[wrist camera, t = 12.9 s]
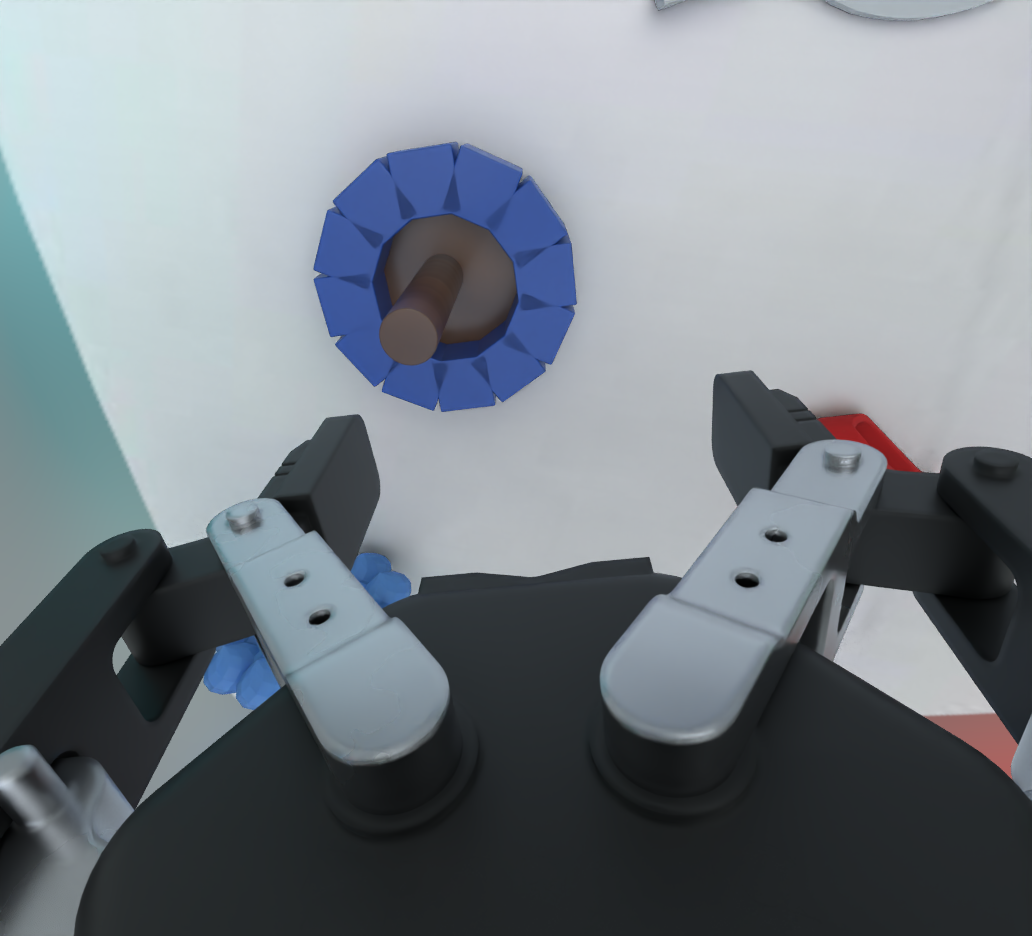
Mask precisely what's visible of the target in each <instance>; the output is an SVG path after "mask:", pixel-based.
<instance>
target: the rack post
mask: <svg viewBox="0 0 1032 936" xmlns="http://www.w3.org/2000/svg"><path fill="white" fill-rule="evenodd" d="M384 273H385V277H386V281H387V286H388V290H389V294H390V298H391V303H392V306H393V307H392V308H391V310H390V311H389V312H388V314H387V315H386V317H385V318H384V319H383V321H382V323H381V325H380V329H379V339H380V343H381V346H382V348H383V350H384V351H385V353H386V354H387V355H388V356H389V357H390V358H391V359H393V360H394V361H396V362H398V363H400V364H403V365H410V366H412V365H419V364H422V363H424V362H426V361H427V360H429V359H430V358H431V357H432V356H433V354H434V353H435V351H436V349H437V346H438V344H439V341H440V342H442V343H445V344H454V343H461V342H469V341H477V340H481V339H482V338H483V337H485V336H486V335H487V334H489V333H490V332H491V331H492V330H494V329H495V328H496V327H498V326H499V325H500V324H502V323H503V322H504V321H505V320H506V319H507V316H508V314H509V311H510V309H511V306H512V304H513V301H514V299H515V296H516V294H517V288H516V281H515V273H514V266H513V262H512V260H511V259H510V258H509V256H508V255H507V254H506V252H505V251H504V250H503V248H502V247H501V246H500V244H499V243H498V242H497V240H496V239H495V238H494V236H493V235H492V234H491V232H490V231H489V230H487V229H485V228H483V227H480V226H478V225H476V224H473V223H471V222H469V221H466V220H464V219H462V218H459V217H457V216H455V215H453V214H448V215H441V216H434V217H427V218H421V219H414V220H412V221H410V222H409V223H408V224H407V225H406V226H405V227H404V228H403V229H401V230H400V231H399V232H398V233H397V234H396V235H395V236H394V238H393V241H392V245H391V248H390V251H389V255H388V258H387V262H386V265H385V268H384Z"/></svg>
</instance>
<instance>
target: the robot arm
mask: <svg viewBox="0 0 1032 936" xmlns="http://www.w3.org/2000/svg"><path fill="white" fill-rule="evenodd" d="M712 450H713V457H714V461H715V464H716V466H717V468H718V470H719V472H720V474H721V476H722V478H723V479H724V481H725V483H726V485H727V487H728V489H729V491H730V493H731V494H732V496H733V498H734V500H735V502H736V504H737V506H738V507H737V508H736V509H735V511H734V512H733V513H732V514H731V516H730V517H729V518H728V520H727V521H726V522H725V523H724V525H723V526H722V527H721V529H720V530H719V531H718V533H717V534H716V535H715V536H714V538H713V539H712V540H711V542H710V543H709V544H708V545H707V547H706V548H705V549H704V551H703V552H702V553H701V555H700V556H699V557H698V558H697V560H696V561H695V562H694V564H693V565H692V566H691V567H690V569H689V570H688V571H687V573H686V574H685V575H684V577H683V578H681V577H677V576H672V575H666V574H660V573H653V569H652V565H651V562H650V558H649V557H644V558H633V559H622V560H611V561H600V562H591V563H587V564H583V565H580V566H576V567H572V568H568V569H564V570H561V571H557V572H553V573H549V574H546V575H542V576H537V577H521V576H510V575H498V574H486V573H467V574H456V575H445V576H434V577H423V578H422V579H421V583H420V588H419V592H418V594H416V595H412V596H409V597H406V598H404V599H401V600H398V601H396V602H394V603H392V604H390V605H387V606H386V607H384V608H381V607H380V606H379V605H378V603H377V602H376V601H375V600H374V599H373V598H372V596H371V595H370V594H369V593H368V592H367V591H366V589H365V588H364V587H363V586H362V585H361V583H360V582H359V581H358V580H357V579H356V578H355V576H354V575H353V574H352V573H351V570H352V567H353V564H354V562H355V559H356V557H357V554H358V552H359V549H360V547H361V544H362V541H363V539H364V536H365V534H366V531H367V529H368V526H369V524H370V521H371V519H372V516H373V513H374V511H375V508H376V506H377V503H378V501H379V497H380V479H379V474H378V470H377V466H376V463H375V459H374V456H373V452H372V448H371V445H370V441H369V438H368V434H367V430H366V427H365V424H364V421H363V419H362V417H361V416H360V415H358V414H356V415H347V416H339V417H330V418H326V419H325V420H324V421H323V423H322V424H321V426H320V427H319V429H318V430H317V432H316V433H315V435H314V436H313V438H312V439H311V440H307V441H305V442H304V443H302V444H301V445H300V446H298V447H297V448H295V449H294V450H293V451H291V452H290V453H289V455H288V456H287V457H286V459H285V460H284V462H283V463H282V466H281V467H279V469H278V470H277V472H276V473H275V476H273V477H272V479H271V480H270V481H269V483H268V484H267V486H266V487H265V488H264V490H263V491H262V493H261V494H260V496H259V497H258V498H257V499H253V500H248V501H244V502H241V503H238V504H236V505H233V506H231V507H229V508H227V509H225V510H224V511H222V512H221V513H219V514H218V515H217V516H215V517H214V518H213V519H212V520H211V521H210V523H209V524H208V526H207V530H206V532H207V535H208V537H207V538H204V539H201V540H197V541H194V542H190V543H186V544H183V545H179V546H176V547H172V548H167V546H166V544H165V542H164V540H163V538H162V536H161V534H160V533H159V532H158V531H156V530H152V529H140V530H134V531H129V532H126V533H123V534H120V535H117V536H115V537H112V538H110V539H108V540H106V541H104V542H102V543H100V544H99V545H97V546H96V547H94V548H93V549H91V550H90V551H89V552H87V553H86V554H85V555H84V556H83V557H82V559H81V560H80V561H79V562H78V563H77V564H76V565H75V566H74V567H73V568H72V569H71V570H70V571H69V572H68V574H67V575H66V576H65V577H64V578H63V579H62V580H61V581H60V582H59V583H58V584H57V585H56V586H55V588H54V589H53V590H52V591H51V592H50V593H49V594H48V595H47V596H46V597H45V598H44V600H42V602H41V603H40V604H39V605H38V606H37V607H36V608H35V609H34V610H33V611H32V612H31V613H30V615H29V616H28V617H27V618H26V619H25V620H24V621H23V622H22V623H21V624H20V625H19V626H18V627H17V629H16V630H15V631H14V632H13V633H12V634H11V635H10V636H9V637H8V638H7V639H6V641H4V643H3V644H2V645H1V646H0V936H1032V458H1030V457H1028V456H1025V455H1023V454H1020V453H1017V452H1013V451H1009V450H1005V449H999V448H992V447H965V448H960V449H956V450H953V451H951V452H949V453H947V454H946V455H945V456H944V459H943V462H942V466H941V470H940V473H925V472H909V471H898V470H891V469H886V468H887V459H886V457H885V456H884V455H883V454H882V453H881V452H880V451H878V450H877V449H875V448H873V447H871V446H868V445H866V444H862V443H859V442H854V441H848V440H837V439H836V438H835V437H834V436H833V435H832V434H831V433H830V431H829V430H828V429H827V428H826V427H825V426H824V425H823V424H822V423H821V422H820V421H819V420H816V417H815V416H814V415H813V414H812V412H811V411H808V408H807V407H806V406H805V405H804V404H803V403H802V402H801V401H800V400H799V399H798V398H797V397H795V396H793V395H791V394H788V393H786V392H784V391H782V390H779V389H774V390H769V389H768V388H767V387H766V386H765V385H764V384H763V382H762V381H761V380H760V379H759V378H758V377H757V376H756V374H755V373H754V372H753V371H742V372H733V373H724V374H717V375H716V376H715V379H714V384H713V412H712ZM1014 579H1015V580H1016V583H1017V586H1016V585H1015V584H1014ZM864 585H868V586H876V587H884V588H892V589H900V590H908V591H913V594H914V596H915V598H916V600H917V601H918V603H919V604H920V605H921V607H922V608H923V610H924V611H925V613H926V614H927V615H928V617H929V618H930V620H931V621H932V623H933V624H934V625H935V627H936V628H937V630H938V631H939V633H940V634H941V635H942V637H943V638H944V640H945V641H946V643H947V644H948V645H949V647H950V648H951V650H952V651H953V653H954V654H955V655H956V657H957V658H958V660H959V661H960V663H961V664H962V665H963V667H964V668H965V670H966V671H967V673H968V674H969V675H970V677H971V678H972V680H973V681H974V683H975V684H976V685H977V687H978V688H979V690H980V691H981V693H982V694H983V695H984V697H985V698H986V700H987V701H988V703H989V704H990V705H991V707H992V708H993V710H994V711H995V713H996V714H997V715H998V717H999V718H1000V720H1001V721H1002V722H1003V724H1004V725H1005V727H1006V728H1007V730H1008V731H1009V732H1010V734H1011V735H1012V737H1013V738H1014V739H1015V741H1016V742H1017V744H1018V748H1017V750H1016V752H1015V755H1014V757H1013V760H1012V764H1011V775H1012V779H1013V780H1012V779H1011V778H1010V777H1009V776H1008V775H1007V774H1006V773H1005V772H1004V771H1003V770H1001V768H999V767H998V766H997V765H996V764H995V763H993V762H992V761H991V760H990V759H988V758H987V757H986V756H984V755H983V754H982V753H981V752H979V751H978V750H976V749H975V748H973V747H972V746H970V745H969V744H967V743H966V742H964V741H963V740H961V739H960V738H958V737H956V736H955V735H953V734H951V733H950V732H948V731H946V730H945V729H943V728H941V727H940V726H938V725H937V724H934V723H933V722H932V721H930V720H928V719H927V718H925V717H923V716H922V715H920V714H918V713H917V712H915V711H913V710H912V709H910V708H908V707H907V706H905V705H903V704H902V703H900V702H899V701H897V700H895V699H894V698H892V697H890V696H889V695H887V694H885V693H884V692H882V691H880V690H879V689H877V688H875V687H874V686H872V685H870V684H869V683H867V682H865V681H864V680H862V679H861V678H859V677H857V676H856V675H854V674H852V673H851V672H849V671H847V670H846V669H844V668H842V667H841V666H839V665H837V664H836V663H834V662H833V661H834V658H835V655H836V652H837V650H838V648H839V645H840V643H841V641H842V639H843V636H844V634H845V632H846V629H847V627H848V625H849V622H850V620H851V618H852V615H853V613H854V611H855V609H856V606H857V604H858V602H859V599H860V597H861V595H862V592H863V588H864ZM250 636H254V637H255V639H256V641H257V643H258V645H259V647H260V649H261V651H262V653H263V655H264V657H265V659H266V661H267V663H268V665H269V667H270V669H271V671H272V673H273V674H274V676H275V678H276V680H277V682H278V684H279V686H280V689H279V690H278V691H277V692H275V693H274V694H273V695H272V696H271V697H269V698H268V699H267V700H266V701H265V702H263V703H262V704H261V705H260V706H258V707H257V708H256V709H255V710H254V711H252V712H251V713H250V714H249V715H248V716H246V717H245V718H244V719H243V720H241V721H240V722H239V723H238V724H237V725H235V726H234V727H233V728H232V729H231V730H229V731H228V732H227V733H226V734H225V735H223V736H222V737H221V738H219V739H218V740H217V741H216V742H215V743H213V744H212V745H211V746H210V747H209V748H207V749H206V750H205V751H204V752H202V753H201V754H200V755H199V756H198V757H196V758H195V759H194V760H193V761H191V762H190V763H189V764H188V765H187V766H185V767H184V768H183V769H182V770H180V771H179V772H178V773H177V774H176V775H174V776H173V777H172V778H171V779H170V780H168V781H167V782H166V783H165V784H163V785H162V786H161V787H160V788H159V789H157V790H156V791H155V792H154V793H153V794H152V795H150V796H149V797H148V798H147V799H146V800H145V801H144V802H142V803H141V804H140V805H139V806H138V807H137V805H138V803H139V801H140V799H141V797H142V795H143V793H144V791H145V789H146V787H147V785H148V783H149V781H150V780H151V778H152V775H153V774H154V772H155V770H156V768H157V766H158V764H159V762H160V760H161V758H162V756H163V754H164V752H165V750H166V748H167V746H168V744H169V742H170V740H171V738H172V736H173V735H174V733H175V730H176V729H177V727H178V725H179V723H180V721H181V719H182V717H183V715H184V713H185V711H186V709H187V707H188V705H189V703H190V701H191V699H192V697H193V695H194V693H195V691H196V689H197V687H198V686H199V684H200V682H201V680H202V678H203V676H204V674H205V672H206V670H207V668H208V666H209V664H210V662H211V660H212V658H213V656H214V654H215V651H216V647H219V646H222V645H225V644H228V643H231V642H235V641H238V640H241V639H244V638H247V637H250ZM120 637H122V638H123V640H124V641H125V643H126V645H127V646H128V648H129V650H130V652H131V655H130V656H129V658H128V659H127V661H126V662H125V664H124V665H123V667H122V668H121V670H120V671H119V673H118V674H117V675H116V674H115V672H114V669H113V664H112V657H113V651H114V648H115V645H116V643H117V642H118V640H119V639H120ZM136 807H137V808H136Z"/></svg>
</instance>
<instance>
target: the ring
mask: <svg viewBox="0 0 1032 936" xmlns="http://www.w3.org/2000/svg"><path fill="white" fill-rule="evenodd" d="M521 176H522V168H520V167H518V166H516V165H514V164H512V163H509V162H507V161H505V160H503V159H501V158H498V157H496V156H494V155H492V154H490V153H487V152H485V151H483V150H481V149H479V148H476V147H474V146H472V145H470V144H464V145H461V146H460V149H459V148H458V143H457V142H452V143H445V144H439V145H432V146H426V147H420V148H413V149H407V150H400V151H396V152H391V153H388V154H387V156H386V157H382V158H378V159H376V160H375V161H374V162H373V163H372V164H371V165H370V166H369V167H368V168H367V169H366V170H364V171H363V172H362V173H361V174H360V175H359V176H358V177H357V178H356V179H355V180H354V181H353V182H352V183H351V184H350V185H349V186H348V187H347V188H346V189H344V190H343V191H342V192H341V193H340V194H339V195H338V196H337V197H336V198H335V199H334V200H333V203H334V204H335V206H336V207H334V208H331V209H329V210H328V211H327V213H326V218H325V222H324V226H323V230H322V234H321V239H320V243H319V247H318V251H317V255H316V260H315V264H314V270H315V271H317V272H320V273H321V274H320V275H319V276H317V277H316V278H315V279H314V283H315V286H316V290H317V293H318V296H319V300H320V303H321V307H322V310H323V314H324V317H325V321H326V324H327V327H328V331H329V334H330V337H335V336H342V337H341V338H340V339H339V340H338V341H337V342H336V344H335V345H336V347H337V348H338V349H339V350H340V351H341V352H342V353H343V354H344V355H345V356H346V357H347V358H348V359H349V360H350V361H351V363H352V364H353V365H354V366H355V367H356V368H357V369H358V370H359V371H360V372H361V373H362V374H363V375H364V376H365V377H366V378H367V379H368V381H369V382H370V383H371V384H372V385H373V386H374V387H375V386H377V385H378V384H379V383H380V382H382V381H383V380H384V379H385V378H386V379H385V382H384V385H383V388H382V392H384V393H387V394H389V395H392V396H395V397H397V398H400V399H403V400H405V401H408V402H411V403H414V404H416V405H419V406H422V407H424V408H427V409H430V410H432V411H434V409H435V406H436V404H437V401H438V398H439V403H440V408H441V411H442V412H445V411H453V410H462V409H470V408H478V407H487V406H494V405H495V400H496V396H497V397H498V398H499V399H500V400H501V401H502V402H504V401H505V400H506V399H508V398H509V397H511V396H512V395H513V394H515V393H516V392H518V391H519V390H520V389H522V388H523V387H525V386H526V385H527V384H529V383H530V382H532V381H533V380H534V379H536V378H537V377H539V376H540V375H541V374H543V373H544V372H545V371H546V368H545V363H548V364H550V365H551V364H552V363H553V360H554V358H555V356H556V354H557V352H558V350H559V347H560V345H561V343H562V341H563V339H564V336H565V334H566V332H567V330H568V328H569V326H570V323H571V321H572V319H573V317H574V315H575V312H574V308H573V305H576V304H577V301H576V290H575V279H574V267H573V256H572V245H571V241H570V239H569V236H568V234H567V231H566V228H565V225H564V223H563V222H562V220H561V219H560V217H559V216H558V214H557V213H556V211H555V210H554V209H553V207H552V206H551V204H550V203H549V201H548V200H547V198H546V197H545V196H544V194H543V193H542V191H541V190H540V188H539V187H538V185H537V184H536V183H535V181H534V180H533V178H532V177H531V176H530V175H529V176H527V177H526V178H525V179H524V180H523V181H522V182H520V179H521ZM519 182H520V183H519ZM448 214H453V215H455V216H457V217H459V218H462V219H464V220H466V221H469V222H471V223H473V224H476V225H478V226H480V227H483V228H485V229H487V230H489V231H490V232H491V234H492V235H493V236H494V238H495V239H496V240H497V242H498V243H499V244H500V246H501V247H502V248H503V250H504V251H505V252H506V254H507V255H508V256H509V258H510V259H511V260H512V262H513V266H514V273H515V281H516V288H517V294H516V296H515V299H514V301H513V304H512V306H511V309H510V311H509V314H508V316H507V319H506V320H505V321H504V322H503V323H502V324H500V325H499V326H498V327H496V328H495V329H494V330H492V331H491V332H490V333H489V334H487V335H486V336H485V337H483V338H482V339H481V340H477V341H469V342H461V343H454V344H445V343H442V342H440V341H439V344H438V346H437V349H436V351H435V353H434V354H433V356H432V357H431V358H430V359H429V360H427V361H426V362H424V363H422V364H419V365H412V366H410V365H403V364H400V363H398V362H396V361H394V360H393V359H391V358H390V357H389V356H388V355H387V354H386V353H385V351H384V350H383V348H382V346H381V343H380V339H379V329H380V325H381V323H382V321H383V319H384V318H385V317H386V315H387V314H388V312H389V311H390V310H391V308H392V307H393V306H392V303H391V298H390V294H389V290H388V286H387V281H386V277H385V273H384V268H385V265H386V262H387V258H388V255H389V251H390V248H391V245H392V241H393V238H394V236H395V235H396V234H397V233H398V232H399V231H400V230H401V229H403V228H404V227H405V226H406V225H407V224H408V223H409V222H410V221H412V220H414V219H421V218H427V217H434V216H441V215H448Z"/></svg>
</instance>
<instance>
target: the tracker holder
mask: <svg viewBox="0 0 1032 936" xmlns="http://www.w3.org/2000/svg"><path fill="white" fill-rule="evenodd" d="M817 420H819V421H820V422H821V423H822V424H823V425H824V426H825V427H826V428H827V429H828V430H829V431H830V433H831V434H832V435H833V436H834V437H835V438H836V439H837V440H848V441H854V442H859V443H862V444H866V445H868V446H871V447H873V448H875V449H877V450H878V451H880V452H881V453H882V454H883V455H884V456H885V457H886V459H887V468H886V469H891V470H898V471H909V472H922V471H920V470H919V469H918V468H917V467H916V466H915V465H914V464H913V463H912V462H911V461H910V460H909V459H908V458H907V457H906V456H905V455H904V454H903V453H902V452H901V451H900V450H899V449H898V448H897V446H896V445H895V444H894V443H893V442H892V441H891V440H890V439H889V438H888V437H887V436H886V435H885V434H884V433H883V432H882V431H881V430H880V429H879V428H878V427H877V426H876V425H875V423H874V422H873V421H872V420H871V419H870V418H869V417H868V416H866V415H864V414H851V415H842V416H833V417H823V418H819V419H817Z"/></svg>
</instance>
